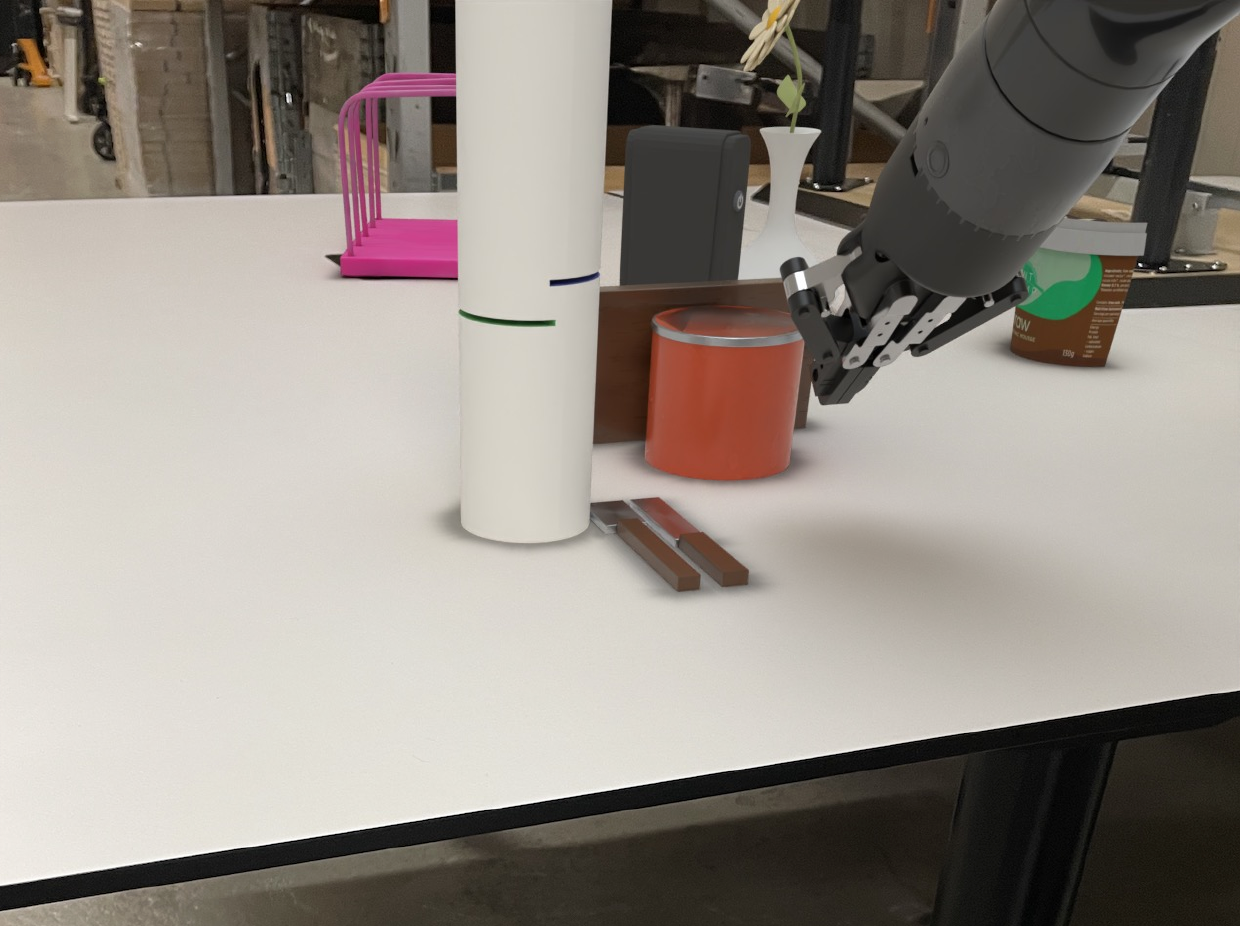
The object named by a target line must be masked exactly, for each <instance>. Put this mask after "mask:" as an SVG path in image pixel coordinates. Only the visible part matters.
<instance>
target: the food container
mask: <svg viewBox="0 0 1240 926" xmlns="http://www.w3.org/2000/svg"><path fill="white" fill-rule="evenodd" d="M1147 226H1148V222H1122V221H1121V222H1120V221H1119V222H1118V221H1117V222H1115V221H1108V220H1106V219H1105V218H1099V217H1093V218H1082V217H1078V216H1075V215H1072V214H1069V213H1068V214H1067V215H1066V216H1065V217H1064V219H1063V220H1062V221H1061V222H1060V223H1059V225H1058V226H1057V227H1056V228H1055V229H1054V230H1053V232H1052V233H1051V234H1050V235H1049V236H1048V238H1047V239H1046V240H1045V241H1044V242H1043V244H1042V245H1041V246H1040V247H1039V248H1038V250H1037V251H1036V252H1035V253H1034V254H1033V256H1032V257H1031V258H1030V259H1029V260H1028V261H1027V263H1026V264H1025V265H1024V266H1023V267H1022V270H1023V273H1024V277H1025V281H1026V285H1027V289H1028V292H1029V296H1028V298H1027V299H1026V300H1025V301H1024V302H1022V303H1020V304H1019V305H1017V306H1015V307H1014V315H1013V323H1012V329H1011V330H1012V331H1011V339H1010V345H1009V351H1010V352H1011V353H1012V354H1013V355H1014V356H1017V357H1019V358H1022V359H1026V360H1028V361H1029V360H1030V361H1032V362H1038V363H1042V364H1049V365H1055V366H1064V367H1076V368H1077V367H1080V368H1105V367H1106V365H1107V361H1108V358H1109V354H1110V352H1111V347H1112V344H1113V341H1114V338H1115V334H1116V332H1117V328H1118V325H1119V321H1120V317H1121V314H1122V311H1123V309H1124V308H1123V307H1124V304H1125V301H1126V298H1127V295H1128V291H1129V288H1130V284H1131V282H1132V278H1133V275H1134V271H1135V268H1136V265H1137V261H1138V258H1139V257H1140V256H1142V257H1144V256H1145V250H1146V249H1145V248H1146V242H1147V234H1148V233H1147V232H1146V231H1147Z"/></svg>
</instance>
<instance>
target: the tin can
mask: <svg viewBox="0 0 1240 926" xmlns="http://www.w3.org/2000/svg"><path fill="white" fill-rule="evenodd" d="M651 328H652V330H653V332H652V347H651V363H650V379H649V395H648V410H647V426H646V440H645V442H644V459H645V462H647V464H649V466H651V467H653V468H655V469H657V470H659V471H661V472H664V473H667V474H671V475H674V476H679V477H683V478H690V479H695V480H707V481H725V482H726V481H728V482H729V481H730V482H731V481H748V480H757V479H764V478H767V477H772V476H774V475H777V474H779V473H780V474H781V473H782V472H783V471H785V470H786V469H788V467H789V466H790V464H791V455H792V449H793V447H792V446H793V440H794V431H795V429H794V424H795V416H796V408H797V400H798V391H799V383H800V375H801V367H802V359H803V351H804V343H805V342H804V340H803V338H802V336H801V334H800V333H799V331H798V329H797V327H796V326H795V324H794V322H793V320H792V318H791V315H790V313H787V312H782V311H778V310H772V309H766V308H758V307H748V306H730V305H706V306H690V307H681V308H675V309H670V310H666V311H663V312H660V313H658V314H656V315H654V316H653V318H652V321H651Z"/></svg>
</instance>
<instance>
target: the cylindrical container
mask: <svg viewBox="0 0 1240 926" xmlns="http://www.w3.org/2000/svg"><path fill="white" fill-rule="evenodd" d="M454 2H455V74H456V96H455V97H456V100H455V101H456V102H455V103H456V105H455V106H456V111H455V112H456V198H457V207H456V208H457V209H456V212H457V220H458V278H457V289H458V290H457V293H458V294H457V295H458V296H457V299H458V300H457V302H458V303H457V305H458V308H459V310H458V312H457V313H458V314H457V316H458V389H459V390H458V392H459V393H458V395H459V397H458V399H459V401H458V403H459V474H460V476H459V480H460V482H459V483H460V485H459V486H460V491H459V492H460V525H461V526H462V529H465V530H466V531H467V532H468V533H470V534H473V535H474V536H478V537H480V538H483V539H487V540H492V541H496V542H503V543H513V544H514V543H516V544H540V543H551V542H557V541H563V540H566V539H570V538H572V537H575V536H578V535H580V534H582V533H584V532H585V531H586V530H587V529H588V528H589V526H590V522H591V521H590V520H591V519H590V503H591V498H592V495H591V494H592V475H593V474H592V473H593V451H594V450H593V449H594V444H593V429H594V406H595V383H596V360H597V337H598V315H599V292H600V287H601V273H600V270H601V268H602V267H601V266H602V265H601V264H602V245H603V241H602V240H603V222H604V221H603V218H604V199H605V173H606V172H605V171H606V154H607V153H606V152H607V149H606V148H607V129H608V107H609V106H608V105H609V82H610V57H611V36H612V15H613V13H612V10H613V0H454Z"/></svg>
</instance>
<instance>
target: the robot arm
mask: <svg viewBox="0 0 1240 926" xmlns="http://www.w3.org/2000/svg"><path fill="white" fill-rule="evenodd" d="M1239 15H1240V0H996V1H995V3H994V4H993V7H992V8H991V9H990V11H989V12H988V13H987V15H985V17H984V18H983V19H982V21H981V22H980V23H979V24H978V25H977V26H976V28H975V29H973V31H972V32H971V34H969V36H968V37H967V38H966V40H965V41H964V42H963V43H962V45H961V46H960V48H958V50H957V51H956V53H955V55H954V56H953V58H952V59H951V61H950V62H949V63H948V65H947V66H946V68H945V70H944V71H943V73H942V75H941V76H940V78H939V80H938V81H937V83H936V84H935V86H934V87H933V89H932V91H931V92H930V94H929V96H928V97H927V99H926V100H925V101H924V103H923V105H922V106H921V108H920V110H919V111H918V112H917V114H916V115H915V117H914V119H913V120H912V122H911V123H910V126H909V127H908V128H907V130H906V132H905V133H904V135H903V136H902V138H901V140H900V141H899V142H898V144H897V146H896V148H895V149H894V150H893V152H892V154H891V155H890V157H889V159H888V160H887V162H886V164H885V165H884V166H883V169H882V170H881V172H880V173H879V176H878V178H877V180H876V184H875V187H874V190H873V193H872V196H871V200H870V203H869V207H868V210H867V213H866V215H865V218H864V219H863V220H862V222H861V223H859V224H858V225H857V226H856V227H854V228H853V229H852V230H851V231H849V232H848V233H847V234H846V235H844V236H843V238H842V239H841V240H840V242H839V244H838V246H837V249H836V254H835V255H834V256H832V257H829V258H828V259H825V260H824V261H821V263H819V264H817V265H814V266H812V267H810V268H809V267H808V265H807V263H806V261H805V259H804V258H802V257H794V258H791V259H788V260H787V261H785V262H784V263H783V264H782V265H781V266H780V273H781V278H782V282H783V286H784V291H785V295H786V299H787V303H788V307H789V311H790V315H791V318H792V320H793V322H794V324H795V326H796V327H797V329H798V331H799V333H800V334H801V336H802V338H803V340H804V342H805V343H806V345H807V347H808V349H809V350H810V352H811V354H812V356H813V358H814V361H813V363H812V364H811V366H810V371H809V373H810V377H811V381H812V382H811V386H812V388H813V393H814V396H815V397H817V398H818V399H817V400H818V402H819V404H820V406H832V405H834V406H835V405H848V404H849V403H850V402H851V401H852V400H853V398H854V397H855V396H856V394H859V392H861V391H862V390H864V389H865V388H866V387H867V385H868V384H869V383H870V381H872V379H873V377H874V376H875V375H876V374H877V372H878V371H879V370H880V368H883V367H887V366H888V365H890V364H892V363H893V362H895V361H896V360H897V359H898V358H899V356H901V354H902V353H903V352H908V351H910V354H911V356H912V358H920V357H924V356H927V355H928V354H930V353H932V352H935V351H936V350H938V349H940V348H941V347H943V346H945V345H948V344H949V343H951V342H952V341H954V340H956V339H958V338H960V337H962V336H964V335H965V334H967V333H969V332H971V331H973V330H974V329H977V328H979V327H980V326H982V325H984V324H986V323H987V322H989V321H992V320H993V319H995V318H996V317H998V316H1000V315H1002V314H1005V313H1006V312H1007V311H1010V310H1012V309H1013V308H1015V307H1016V306H1017V305H1019V304H1020V303H1022V302H1024V301H1025V300H1026V299H1027V298H1028V296H1029V292H1028V289H1027V285H1026V281H1025V277H1024V273H1023V270H1022V267H1023V266H1024V265H1025V264H1026V263H1027V261H1028V260H1029V259H1030V258H1031V257H1032V256H1033V254H1034V253H1035V252H1036V251H1037V250H1038V248H1039V247H1040V246H1041V245H1042V244H1043V242H1044V241H1045V240H1046V239H1047V238H1048V236H1049V235H1050V234H1051V233H1052V232H1053V230H1054V229H1055V228H1056V227H1057V226H1058V225H1059V223H1060V222H1061V221H1062V220H1063V219H1064V217H1065V216H1066V215H1067V214H1068V215H1069V213H1070V211H1072V210H1073V208H1074V207H1075V206H1076V205H1077V203H1078V202H1079V201H1080V200H1081V198H1082V197H1083V196H1084V195H1085V194H1086V192H1088V190H1090V188H1091V186H1092V185H1093V184H1094V183H1095V182H1096V181H1097V180H1098V178H1099V177H1100V176H1101V174H1102V173H1103V172H1104V171H1105V169H1106V168H1107V166H1109V164H1110V162H1111V161H1112V159H1113V158H1114V157H1115V156H1116V154H1117V152H1118V150H1119V149H1120V147H1121V145H1122V143H1123V142H1124V140H1125V139H1126V137H1127V135H1128V134H1129V133H1130V131H1131V129H1132V128H1133V127H1134V126H1135V124H1136V122H1137V121H1138V120H1139V119H1140V117H1141V116H1142V115H1143V114H1144V113H1145V111H1146V110H1147V109H1148V108H1149V107H1150V105H1151V104H1152V103H1153V102H1154V101H1155V100H1156V98H1157V97H1158V96H1159V95H1160V93H1161V92H1162V91H1163V90H1164V89H1165V87H1166V86H1167V85H1168V84H1169V83H1170V81H1172V78H1174V77H1175V75H1176V74H1177V73H1178V72H1179V70H1180V69H1181V68H1182V67H1183V66H1184V65H1185V64H1186V63H1187V61H1188V60H1189V59H1190V58H1191V57H1192V55H1193V54H1194V53H1195V52H1196V51H1197V50H1198V49H1199V47H1201V46H1202V44H1204V43H1205V41H1207V40H1208V39H1209V38H1210V37H1212V35H1214V34H1215V33H1216V32H1218V31H1220V29H1222V28H1223V27H1224V26H1226V25H1227V24H1229V23H1230V22H1231V21H1233V20H1234V19H1235V18H1236V17H1238V16H1239ZM841 286H844V298H843V301H842V303H841V304H840V306H839V308H838V310H837V311H836V313H835V314H831V313H832V312H831V307H830V305H829V304H830V303H831V302H832V301H833V300H834V298H835V291H836V289H837V288H838V289H839V288H840V287H841ZM948 314H950V317H949V318H948V319H947V320H946V321H944V322H942V323H941V321H942V320H943V319H945V317H946V316H947V315H948Z"/></svg>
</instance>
